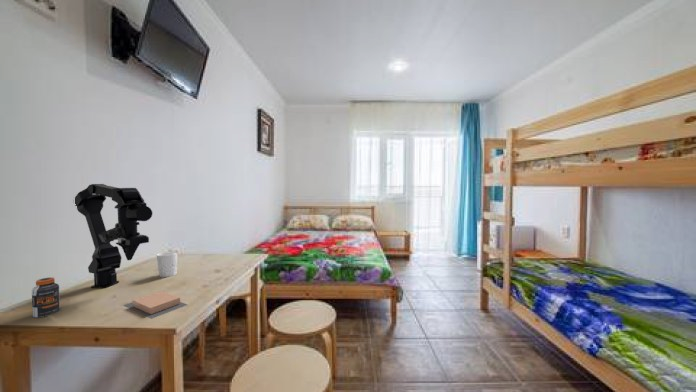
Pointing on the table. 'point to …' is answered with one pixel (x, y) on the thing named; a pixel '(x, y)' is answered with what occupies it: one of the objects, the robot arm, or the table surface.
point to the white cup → (167, 264)
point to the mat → (130, 305)
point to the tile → (156, 302)
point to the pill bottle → (45, 297)
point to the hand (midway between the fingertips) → (129, 260)
